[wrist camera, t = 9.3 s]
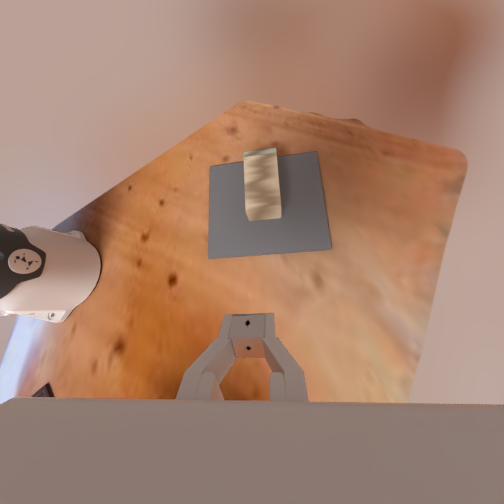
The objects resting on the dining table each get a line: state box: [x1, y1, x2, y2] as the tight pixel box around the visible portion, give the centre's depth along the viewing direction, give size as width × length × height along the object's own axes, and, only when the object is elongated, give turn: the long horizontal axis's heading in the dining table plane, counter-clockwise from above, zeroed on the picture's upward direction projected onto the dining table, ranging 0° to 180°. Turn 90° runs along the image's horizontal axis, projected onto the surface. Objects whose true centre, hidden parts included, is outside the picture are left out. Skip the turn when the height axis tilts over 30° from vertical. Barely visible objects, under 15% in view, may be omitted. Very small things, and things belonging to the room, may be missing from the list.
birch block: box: [243, 148, 281, 221], centre depth 35 cm, size 6×4×12 cm
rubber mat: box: [208, 151, 332, 259], centre depth 37 cm, size 22×20×1 cm
